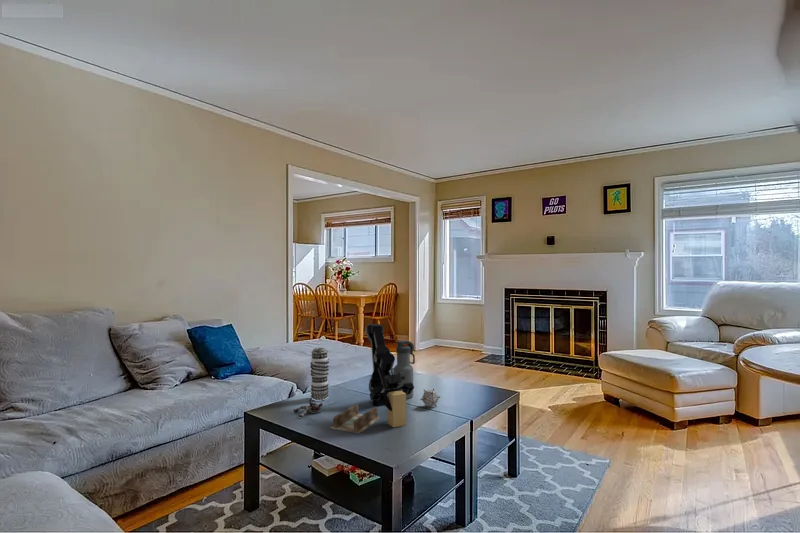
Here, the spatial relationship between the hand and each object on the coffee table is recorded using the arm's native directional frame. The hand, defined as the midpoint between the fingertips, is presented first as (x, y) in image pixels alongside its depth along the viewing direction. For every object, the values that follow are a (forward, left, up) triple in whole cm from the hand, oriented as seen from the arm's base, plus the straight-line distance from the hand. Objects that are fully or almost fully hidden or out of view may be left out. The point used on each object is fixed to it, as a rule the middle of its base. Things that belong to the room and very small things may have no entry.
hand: (398, 409), depth 178 cm
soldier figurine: (-25, -35, -7) cm, 43 cm away
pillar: (-1, 0, -7) cm, 7 cm away
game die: (-18, +21, -7) cm, 29 cm away
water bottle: (-37, +14, -7) cm, 41 cm away
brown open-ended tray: (-7, -16, -7) cm, 19 cm away
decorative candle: (-46, -27, -7) cm, 54 cm away
